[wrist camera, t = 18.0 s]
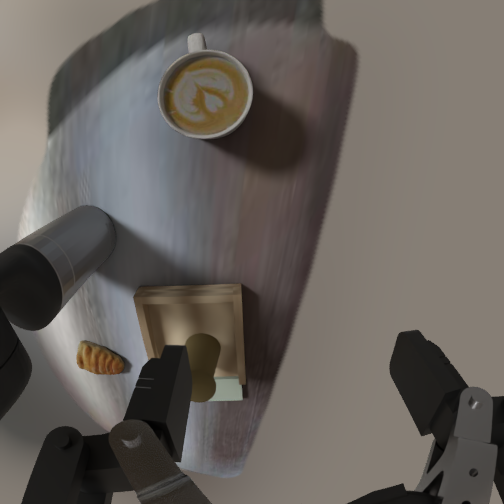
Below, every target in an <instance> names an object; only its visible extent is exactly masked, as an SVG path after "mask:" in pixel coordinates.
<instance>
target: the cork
mask: <svg viewBox="0 0 504 504" xmlns="http://www.w3.org/2000/svg"><path fill="white" fill-rule="evenodd" d="M185 345H186V347H187V352H188V357H189V363H190V369H191V374H192V395H191V401H194V402H205V401H208V400H210V399H211V398H212V397H213V396H214V394H215V392H216V382H215V379H214V374H215V370H216V367H217V363H218V359H219V355H220V351H221V346H220V343H219V342H218V340H217V339H216V338H214V337H213V336H211V335H209V334H204V333H198V334H194V335H192V336H190V337H189V338H188V339H187V340H186V343H185Z"/></svg>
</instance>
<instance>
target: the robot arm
mask: <svg viewBox="0 0 504 504" xmlns="http://www.w3.org/2000/svg"><path fill="white" fill-rule="evenodd" d="M115 240H116V236H115V230H114V226H113V224H112V222H111V220H110V219H109V217H108V216H107V215H106V214H105V213H104V212H103V211H102V210H100V209H99V208H96V207H94V206H88V205H86V206H80V207H78V208H76V209H74V210H72V211H70V212H68V213H66V214H64V215H63V216H61V217H59V218H57V219H56V220H54V221H52V222H50V223H49V224H47V225H45V226H43V227H42V228H40V229H38V230H37V231H35V232H33V233H32V234H30V235H28V236H27V237H25V238H23V239H22V240H20V241H19V242H17V243H16V244H14V245H12V246H10V247H9V248H7V249H6V250H5V251H3V252H2V253H0V420H1V419H2V417H3V416H4V415H5V414H6V413H7V412H8V411H9V409H10V408H11V407H12V405H13V404H14V403H15V402H16V401H17V399H18V398H19V396H20V395H21V394H22V392H23V390H24V389H25V387H26V385H27V384H28V381H29V379H30V376H31V372H32V363H31V360H30V357H29V356H28V353H27V352H26V350H25V348H24V346H23V345H22V343H21V341H20V340H19V338H18V336H17V334H16V333H15V331H14V329H13V328H12V326H11V324H10V322H11V323H13V324H14V325H16V326H18V327H20V328H23V329H26V330H30V331H35V330H40V329H42V328H44V327H46V326H47V325H48V324H49V323H50V322H51V321H52V320H53V319H54V318H55V317H56V315H57V314H58V313H59V312H60V311H61V309H62V308H63V307H64V306H65V305H66V303H67V302H68V301H69V300H70V299H71V297H72V296H73V295H74V294H75V293H76V292H77V291H78V289H79V288H80V287H81V286H82V285H83V284H84V283H85V282H86V280H87V279H88V278H89V277H90V276H91V275H92V274H93V273H94V272H95V270H96V269H97V268H98V267H99V266H100V265H101V264H102V263H103V262H104V261H105V260H106V259H107V258H108V257H109V255H110V254H111V253H112V251H113V249H114V246H115ZM8 320H9V321H10V322H9V321H8ZM390 375H391V377H392V379H393V381H394V383H395V385H396V387H397V389H398V391H399V393H400V395H401V396H402V398H403V400H404V402H405V404H406V406H407V408H408V410H409V412H410V414H411V416H412V418H413V420H414V422H415V424H416V426H417V428H418V430H419V432H420V434H421V436H424V435H427V434H431V433H433V435H434V437H435V439H434V441H433V443H432V447H431V450H430V453H429V457H428V460H427V463H426V466H425V469H424V472H423V475H422V477H421V480H420V482H419V484H418V486H417V487H416V489H415V490H414V491H406V490H405V487H404V484H399V485H396V486H393V487H389V488H385V489H381V490H377V491H374V492H371V493H369V494H367V495H365V496H363V497H361V498H359V499H356V500H354V501H352V502H350V503H348V504H489V502H490V497H491V492H492V486H493V481H494V483H495V484H496V487H497V490H498V492H499V495H500V497H501V499H502V502H503V504H504V396H499V397H491V396H490V394H489V393H488V392H487V391H485V390H483V389H481V388H478V387H468V385H467V384H466V383H465V381H464V380H463V378H462V377H461V376H460V374H459V373H458V371H457V370H456V369H455V368H454V366H453V365H452V364H450V361H449V359H448V358H447V357H445V354H444V353H443V352H442V351H441V349H440V348H439V347H438V346H437V345H435V344H434V343H432V342H431V341H429V340H428V341H427V340H426V339H425V338H424V336H423V335H422V334H421V332H420V331H419V330H413V331H405V332H401V333H399V334H398V337H397V340H396V344H395V347H394V351H393V354H392V357H391V361H390ZM191 395H192V374H191V369H190V363H189V357H188V352H187V347H186V345H165V346H164V348H163V351H162V354H161V358H151V359H150V360H149V361H148V362H147V363H146V364H145V365H144V366H143V367H142V370H141V372H140V375H139V379H138V380H137V383H136V388H135V389H134V391H133V394H132V397H131V400H130V403H129V405H128V408H127V411H126V414H125V417H124V419H123V421H122V422H120V423H118V424H116V425H115V426H114V427H113V428H112V429H111V431H110V432H109V433H106V434H102V435H92V436H82V435H81V433H80V432H79V431H78V430H76V429H75V428H72V427H68V426H62V427H58V428H56V429H54V430H52V431H51V432H50V433H49V434H48V435H47V436H46V438H45V441H44V443H43V446H42V448H41V450H40V453H39V455H38V458H37V461H36V463H35V466H34V468H33V471H32V474H31V477H30V479H29V482H28V485H27V488H26V491H25V494H24V497H23V501H22V503H21V504H111V500H112V495H113V492H123V491H133V490H134V491H135V492H136V494H137V497H138V499H139V501H140V503H141V504H212V503H211V502H210V501H209V500H208V499H207V497H206V496H205V495H204V494H203V493H202V491H201V490H200V489H199V488H198V487H197V485H195V483H194V482H193V481H192V480H191V478H190V477H189V476H187V475H185V474H184V473H183V472H182V471H181V470H180V468H179V467H178V466H177V464H176V463H175V462H181V458H182V451H183V445H184V438H185V432H186V425H187V419H188V413H189V407H190V401H191Z"/></svg>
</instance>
